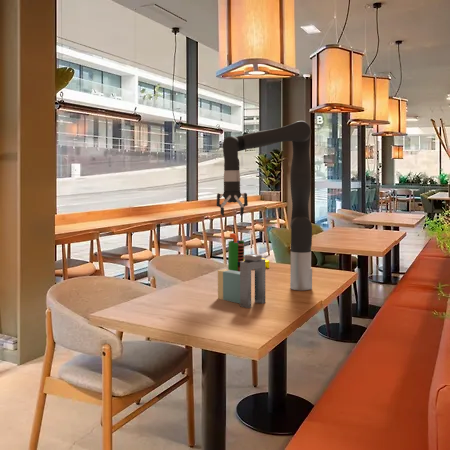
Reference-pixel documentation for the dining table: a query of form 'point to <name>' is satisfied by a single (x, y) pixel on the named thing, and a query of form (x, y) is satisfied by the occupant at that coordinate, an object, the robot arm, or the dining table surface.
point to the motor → (235, 253)
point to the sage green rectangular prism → (229, 285)
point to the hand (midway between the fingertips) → (232, 215)
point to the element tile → (266, 263)
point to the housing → (245, 279)
